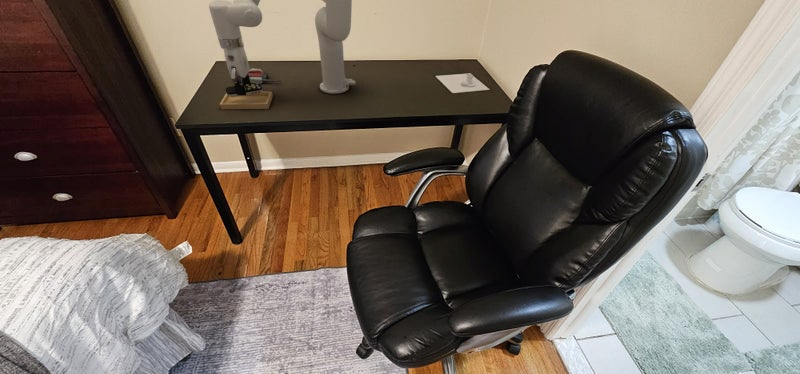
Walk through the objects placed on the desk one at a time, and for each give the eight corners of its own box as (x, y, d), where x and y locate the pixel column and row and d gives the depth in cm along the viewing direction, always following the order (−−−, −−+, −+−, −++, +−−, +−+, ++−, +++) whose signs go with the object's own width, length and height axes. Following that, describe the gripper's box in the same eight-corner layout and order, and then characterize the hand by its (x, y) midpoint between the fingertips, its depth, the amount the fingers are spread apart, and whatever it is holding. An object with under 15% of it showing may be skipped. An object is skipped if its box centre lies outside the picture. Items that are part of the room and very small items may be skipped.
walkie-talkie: (233, 83, 135) (280, 84, 137) (230, 73, 132) (278, 75, 134) (239, 75, 142) (284, 77, 144) (236, 65, 139) (282, 67, 141)
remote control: (226, 91, 120) (224, 86, 119) (260, 86, 125) (259, 81, 124) (228, 98, 116) (226, 93, 115) (263, 93, 121) (262, 88, 120)
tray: (272, 96, 129) (271, 91, 128) (268, 108, 121) (267, 103, 119) (228, 96, 126) (227, 91, 125) (221, 109, 118) (219, 104, 117)
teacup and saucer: (463, 87, 147) (464, 79, 145) (455, 81, 153) (457, 72, 150) (479, 86, 150) (481, 78, 147) (471, 79, 155) (473, 71, 153)
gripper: (236, 50, 103) (250, 100, 114) (248, 34, 116) (259, 80, 127) (212, 50, 102) (228, 100, 113) (226, 34, 114) (239, 80, 126)
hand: (244, 89), depth 120 cm, fingers closed on remote control, 7 cm apart
